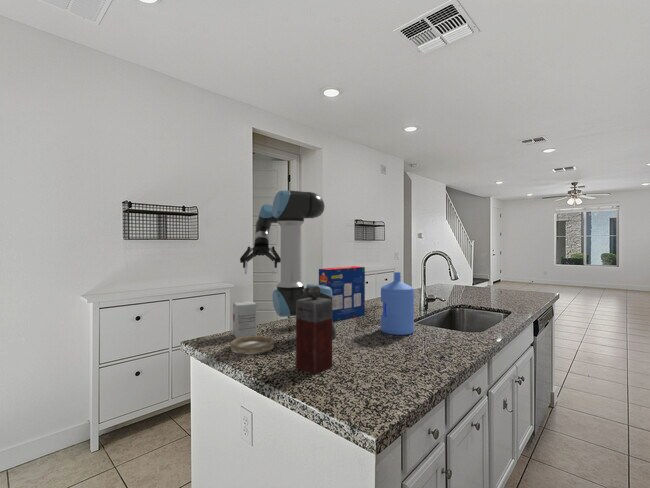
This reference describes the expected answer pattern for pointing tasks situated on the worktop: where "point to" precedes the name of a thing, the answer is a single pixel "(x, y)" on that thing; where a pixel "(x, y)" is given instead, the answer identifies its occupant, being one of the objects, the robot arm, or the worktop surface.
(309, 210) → the robot arm
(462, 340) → the worktop surface
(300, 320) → the red square bottle
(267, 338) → the tan plate
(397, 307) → the water jug
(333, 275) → the blue toy box
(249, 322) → the supplement box
